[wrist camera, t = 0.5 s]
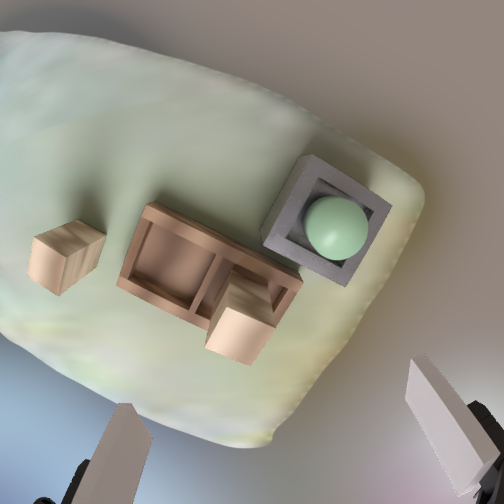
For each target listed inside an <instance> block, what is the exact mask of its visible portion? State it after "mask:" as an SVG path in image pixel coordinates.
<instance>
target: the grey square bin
mask: <svg viewBox="0 0 504 504" xmlns="http://www.w3.org/2000/svg"><path fill="white" fill-rule="evenodd" d="M325 196H337V197H341V198H344V199H347V200H350V201H352V202H354V203H356V204H357V205H358V206H359V207H360V208H361V209H362V210H363V212H364V213H365V215H366V218H367V221H368V234H367V238H366V241H365V243H364V245H363V246H362V248H361V249H360V250H359V251H358V252H357V253H356V254H354V255H353V256H351V257H349V258H347V259H343V260H331V259H328V258H326V257H324V256H322V255H321V254H320V253H318V251H317V250H316V249H315V248H314V247H313V246H312V244H311V243H310V242H309V241H308V239H307V237H306V235H305V233H304V227H303V222H304V217H305V214H306V211H307V210H308V208H309V207H310V205H311V204H312V203H313V202H315V201H316V200H317V199H319V198H322V197H325ZM391 207H392V205H391V204H389V203H388V202H386V201H385V200H384V199H382V198H381V197H379V196H378V195H376V194H375V193H373V192H372V191H370V190H369V189H367V188H366V187H364V186H363V185H361V184H360V183H358V182H357V181H355V180H354V179H352V178H351V177H349V176H347V175H346V174H344V173H343V172H341V171H340V170H338V169H336V168H335V167H333V166H331V165H330V164H328V163H326V162H325V161H323V160H321V159H320V158H318V157H316V156H315V155H313V154H311V155H306V156H301V157H299V158H298V160H297V162H296V164H295V165H294V167H293V169H292V171H291V173H290V175H289V177H288V178H287V180H286V182H285V184H284V186H283V188H282V189H281V191H280V193H279V195H278V197H277V199H276V201H275V202H274V204H273V206H272V208H271V210H270V212H269V214H268V215H267V217H266V219H265V221H264V223H263V225H262V226H261V228H260V230H259V231H260V236H261V240H262V245H263V246H265V247H267V248H269V249H271V250H273V251H275V252H277V253H279V254H281V255H283V256H285V257H287V258H289V259H291V260H293V261H295V262H297V263H299V264H301V265H302V266H304V267H306V268H308V269H310V270H312V271H314V272H316V273H318V274H320V275H322V276H324V277H326V278H328V279H330V280H332V281H334V282H336V283H338V284H340V285H342V286H343V287H346V286H347V284H348V282H349V281H350V279H351V278H352V276H353V274H354V273H355V271H356V269H357V268H358V266H359V264H360V263H361V261H362V259H363V258H364V256H365V254H366V253H367V251H368V249H369V247H370V246H371V244H372V242H373V240H374V239H375V237H376V235H377V233H378V231H379V230H380V228H381V226H382V224H383V222H384V221H385V219H386V217H387V215H388V213H389V211H390V209H391Z"/></svg>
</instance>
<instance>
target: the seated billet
mask: <svg viewBox="0 0 504 504" xmlns="http://www.w3.org/2000/svg"><path fill="white" fill-rule="evenodd" d="M275 329H276V326H275V320H274V315H273V309H272V304H271V299H270V294H269V288H268V286H265V285H263V284H261V283H259V282H257V281H255V280H253V279H251V278H249V277H247V276H244V275H242V274H240V273H238V272H236V271H234V270H232V269H231V271H230V273H229V275H228V277H227V279H226V281H225V283H224V285H223V286H222V288H221V290H220V292H219V294H218V296H217V298H216V300H215V302H214V305H213V310H212V314H211V319H210V323H209V328H208V333H207V337H206V342H205V348H207V349H209V350H212V351H214V352H217V353H219V354H221V355H224V356H226V357H229V358H231V359H233V360H236V361H239V362H241V363H244V364H246V365H249V366H251V365H252V364H253V362H254V361H255V360H256V358H257V357H258V355H259V354H260V352H261V351H262V349H263V348H264V346H265V345H266V343H267V342H268V340H269V339H270V337H271V335H272V334H273V332H274V331H275Z"/></svg>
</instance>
